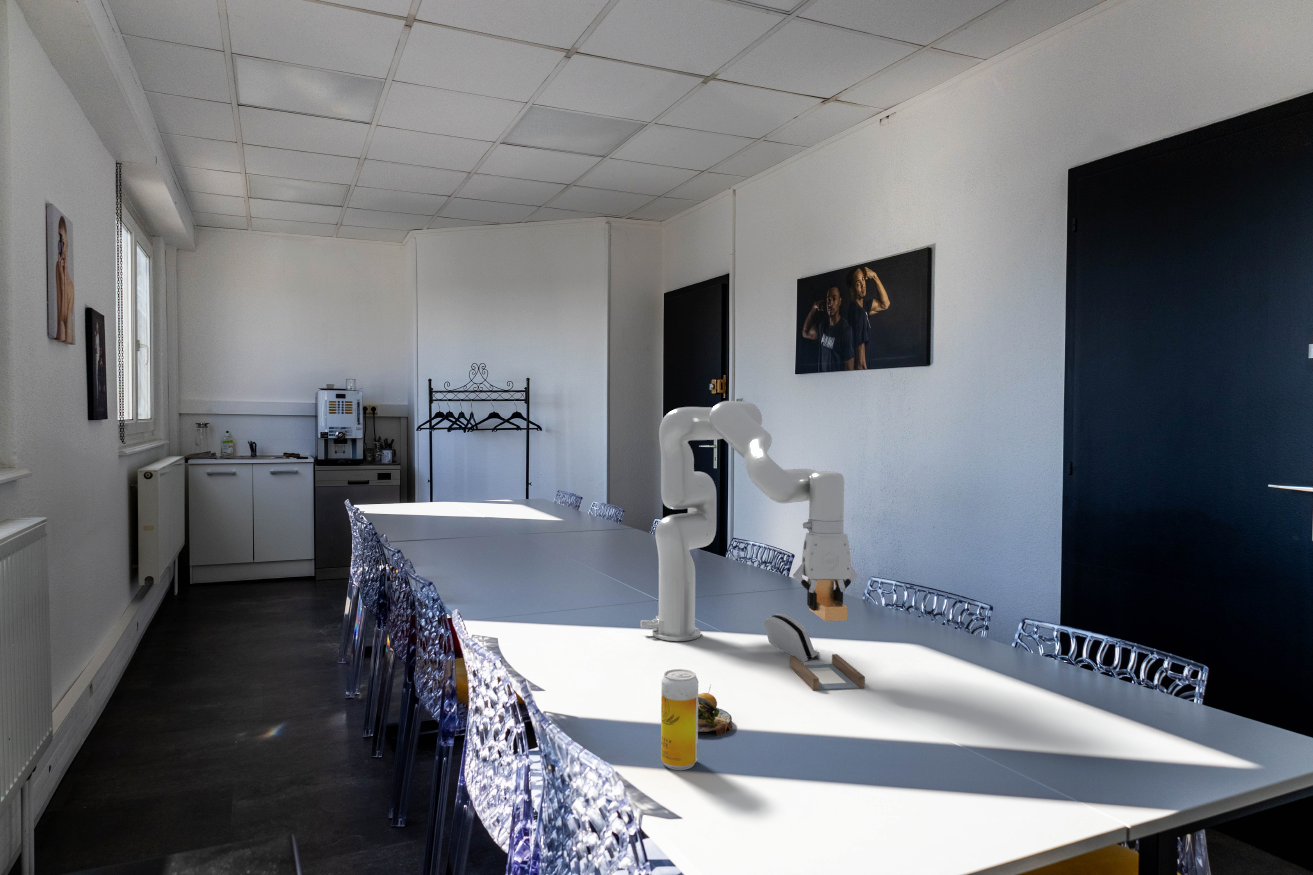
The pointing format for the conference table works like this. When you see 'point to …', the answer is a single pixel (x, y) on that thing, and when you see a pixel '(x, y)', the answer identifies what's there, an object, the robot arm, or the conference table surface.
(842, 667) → the bay walls
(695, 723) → the beer can
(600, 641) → the conference table surface
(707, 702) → the burger
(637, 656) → the conference table surface
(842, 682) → the bay mat
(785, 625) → the grey slotted curved block
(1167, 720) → the conference table surface
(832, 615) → the bracket
